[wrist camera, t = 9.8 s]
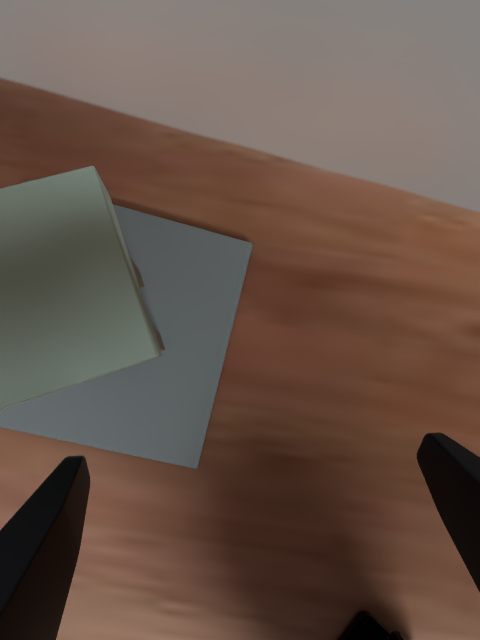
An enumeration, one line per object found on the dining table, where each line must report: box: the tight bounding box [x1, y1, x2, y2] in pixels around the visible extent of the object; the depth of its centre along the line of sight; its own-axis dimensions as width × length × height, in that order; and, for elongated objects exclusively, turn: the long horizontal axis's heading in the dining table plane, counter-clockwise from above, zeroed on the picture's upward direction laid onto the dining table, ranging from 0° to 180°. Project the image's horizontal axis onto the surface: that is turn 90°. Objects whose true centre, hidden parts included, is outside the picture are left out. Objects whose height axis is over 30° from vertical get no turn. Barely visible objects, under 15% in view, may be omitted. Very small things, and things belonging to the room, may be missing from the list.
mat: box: [0, 180, 253, 469], centre depth 21 cm, size 14×14×1 cm
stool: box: [0, 165, 165, 410], centre depth 16 cm, size 6×6×11 cm
